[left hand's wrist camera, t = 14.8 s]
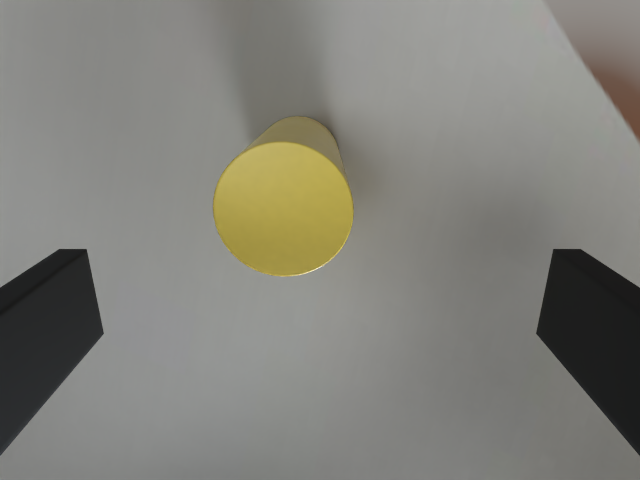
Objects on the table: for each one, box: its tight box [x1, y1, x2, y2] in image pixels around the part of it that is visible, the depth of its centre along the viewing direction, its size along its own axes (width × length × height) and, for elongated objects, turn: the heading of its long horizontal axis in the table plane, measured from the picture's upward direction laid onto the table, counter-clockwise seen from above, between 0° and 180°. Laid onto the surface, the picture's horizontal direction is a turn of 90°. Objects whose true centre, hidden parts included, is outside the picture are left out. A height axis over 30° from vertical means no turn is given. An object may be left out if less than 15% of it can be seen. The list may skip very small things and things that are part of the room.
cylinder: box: [213, 116, 354, 276], centre depth 22 cm, size 5×5×12 cm
